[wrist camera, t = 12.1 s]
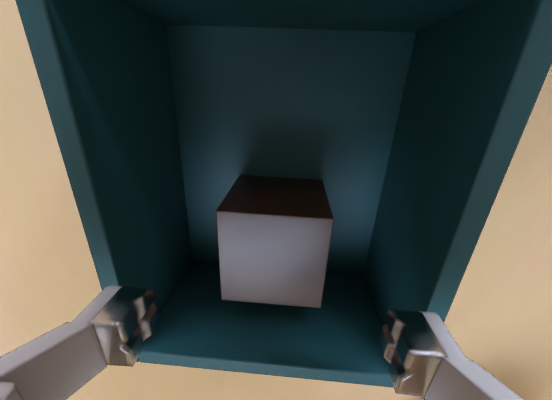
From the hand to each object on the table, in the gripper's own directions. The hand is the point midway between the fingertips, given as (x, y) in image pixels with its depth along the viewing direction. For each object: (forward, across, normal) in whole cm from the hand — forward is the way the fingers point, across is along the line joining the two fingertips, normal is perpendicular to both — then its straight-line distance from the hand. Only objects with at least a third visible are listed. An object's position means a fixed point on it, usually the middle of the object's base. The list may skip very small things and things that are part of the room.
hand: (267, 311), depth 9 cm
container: (+9, 0, -3) cm, 9 cm away
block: (+8, 0, 0) cm, 8 cm away
